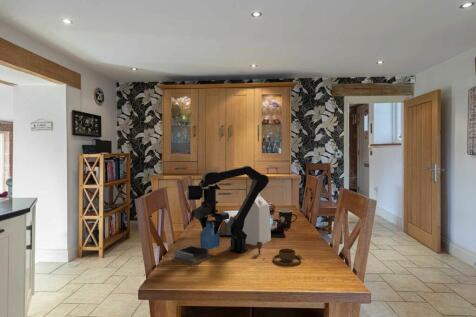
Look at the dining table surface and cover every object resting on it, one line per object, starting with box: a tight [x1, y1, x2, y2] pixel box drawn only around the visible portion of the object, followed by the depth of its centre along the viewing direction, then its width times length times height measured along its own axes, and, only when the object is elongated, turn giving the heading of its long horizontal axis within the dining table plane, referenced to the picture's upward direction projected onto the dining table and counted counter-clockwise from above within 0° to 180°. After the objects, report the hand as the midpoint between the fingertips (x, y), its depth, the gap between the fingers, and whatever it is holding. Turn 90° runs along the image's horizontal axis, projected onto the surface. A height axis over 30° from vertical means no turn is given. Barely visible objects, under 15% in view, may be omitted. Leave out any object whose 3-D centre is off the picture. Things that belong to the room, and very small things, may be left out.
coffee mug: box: [278, 209, 298, 229], centre depth 192 cm, size 12×9×10 cm
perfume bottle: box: [199, 219, 221, 250], centre depth 141 cm, size 6×6×12 cm
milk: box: [242, 192, 272, 246], centre depth 161 cm, size 12×12×26 cm
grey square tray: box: [171, 244, 212, 267], centre depth 135 cm, size 12×12×4 cm
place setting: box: [256, 242, 306, 267], centre depth 135 cm, size 18×20×6 cm
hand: (210, 233), depth 141 cm, fingers closed on perfume bottle, 6 cm apart
